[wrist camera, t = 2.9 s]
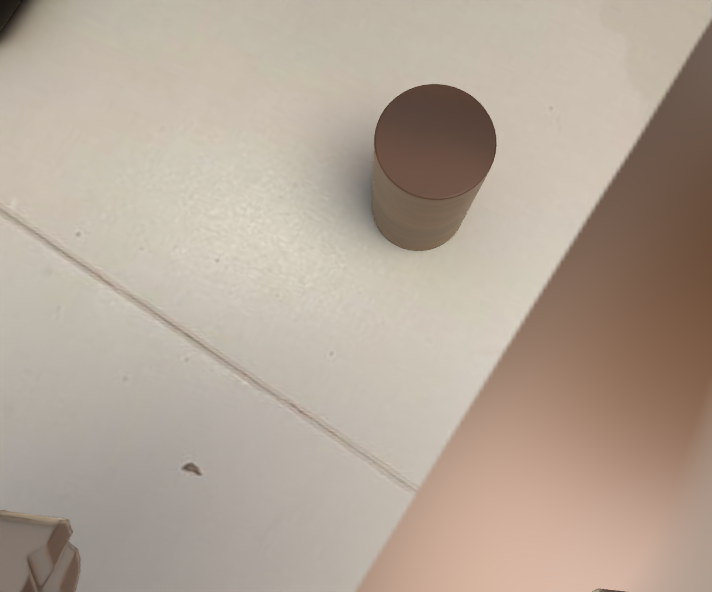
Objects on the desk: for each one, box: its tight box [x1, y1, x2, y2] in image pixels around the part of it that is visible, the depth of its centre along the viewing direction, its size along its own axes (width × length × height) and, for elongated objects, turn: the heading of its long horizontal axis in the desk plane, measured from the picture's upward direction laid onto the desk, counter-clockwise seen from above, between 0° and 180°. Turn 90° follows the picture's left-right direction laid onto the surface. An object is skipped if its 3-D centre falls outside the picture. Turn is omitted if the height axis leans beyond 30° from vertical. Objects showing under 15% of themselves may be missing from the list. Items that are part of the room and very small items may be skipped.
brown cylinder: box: [372, 84, 496, 251], centre depth 28 cm, size 4×4×8 cm
